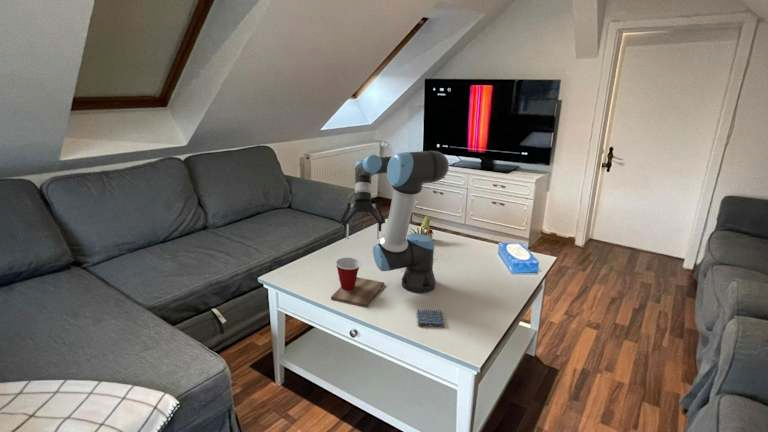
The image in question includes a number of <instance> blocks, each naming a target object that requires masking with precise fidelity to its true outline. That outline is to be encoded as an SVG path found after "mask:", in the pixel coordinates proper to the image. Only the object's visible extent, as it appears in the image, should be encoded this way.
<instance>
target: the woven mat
mask: <svg viewBox="0 0 768 432" xmlns="http://www.w3.org/2000/svg"><path fill="white" fill-rule="evenodd" d="M416 318H417V321H416V323H417V327H420V328H421V327H422V328H423V327H424V328H429V327H430V328H446V325H445V318H444V315H443V311H442V310H439V309H438V310H435V309H433V310H431V309H428V310H427V309H417V311H416Z"/></svg>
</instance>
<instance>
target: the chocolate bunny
mask: <svg viewBox="0 0 768 432" xmlns="http://www.w3.org/2000/svg"><path fill="white" fill-rule="evenodd" d="M430 223H431V218H430V217H429V216H428V215H425V217H424V219H423V222H422V223H421V225H420V227H419V229H420V228H424V229H426V230H427V232H428V236H429V237H431V238H432V239H433V235H434V232H433V229H431V227H430Z"/></svg>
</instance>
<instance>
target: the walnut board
mask: <svg viewBox="0 0 768 432" xmlns="http://www.w3.org/2000/svg"><path fill="white" fill-rule="evenodd" d="M384 286H385V282H384V281H377V280H375V279H373V280H372V279H367V278H364V277H363V278H362V277H357V278H356V282H355V287H354V289H352V290H343V289H342V288H341V286H340V287H339V288H338V289H337V290H336V291H334V293H333V294H332V295H331V296H330V300H333V301H336V302H342V303H346V304H350V305H355V306H359V307H364V308H367V307H368V306H369V305H370V303H372V301H373V300H374V299H375V297H376V296H377V295H378V294H379V292H380V291H381V290H382V288H383V287H384Z"/></svg>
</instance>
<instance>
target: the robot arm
mask: <svg viewBox="0 0 768 432" xmlns="http://www.w3.org/2000/svg"><path fill="white" fill-rule="evenodd" d="M449 166H450V165H449V160H448V157H446V156H445V154H443V153H442V152H440V151H436V150H426V151H425V150H424V151H423V150H422V151H402V152H399V153H398V152H397V153H395V154H393V155H392V156H378V155H377V154H370V155H368V156H367V157H365V159H361V160H360V159H359V160H357V161H356V162H355V167H354V173H355V174H354V178H355V179H354V181H355V182H354V193H355V194H354V203H351V202H348V203H347V206H346V209H345V211H344V213H343V215H342V217H341V219H340V224H343V226H344V228H343V231H344V232H346V240H349V239H350V224H349V223H350V222H351V221H352V220H353V218H355V216H356V215H358V213H359V214H367V213H368V214H369V216H371V217H372V218H373V219H374V220H375V222H376V239H377V240H379V243H376V244H374V245H373V246H372V256H373V259H374V262H375V264H376V267H377V268H378V270H380V272H390V271H394V270H399V269H403V268H404V269H405V270H404V272H403V275H402V277H401V287H402V288H403V289H405V290H406V291H408V292H412V293H417V294H419V293H420V294H423V293H429V292H432V291H433V290H434V289H436V285H437V283H436V282H437V281H436V280H437V279H436V278H435V274H434V273H435V272H434V270H433V269H434V268H433V267H434V266H433V265H434V253H435V252H434V251H435V241H434V239H433V237H432V238H431V237H429V236H427V235H424V234H419V233H417V232H416V233H415V232H414V233H412V232H411V233H409V234H408V232H409V227H410V223H411V219H412V213H413V209H414V205H415V201H416V196H417V195H419V194H420V193H421V192H422V190H423V185H424V184H429V183H436V182H438V181H441V180H442V179H444V178H445V176H447V174H448V172H449V169H450V167H449ZM381 174H384V175H385V174H386V178H387V181H388V183H389V184H390V187H391V188H392V189H393V192H392V195H391V196H392V197H391V202H390V208H389V213H388V218H387V223H386V219H385V218H384V215H383V214H382V211H381V210H380V208H379V202H374V203H372V177H373V176H374V175H381ZM353 208H354V210H353V211H352V213H351V214H349V213H350V211H351V209H353ZM372 208H373V209H375V211H376V213H377V215H378V216H377V215H376V214H375V213H374V212H373V210H371V209H372ZM348 215H349V216H348ZM383 224H386V228H385V233H384V234H382V236H381V237H380V236H379V235H380V233H379V232H382V225H383Z"/></svg>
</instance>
